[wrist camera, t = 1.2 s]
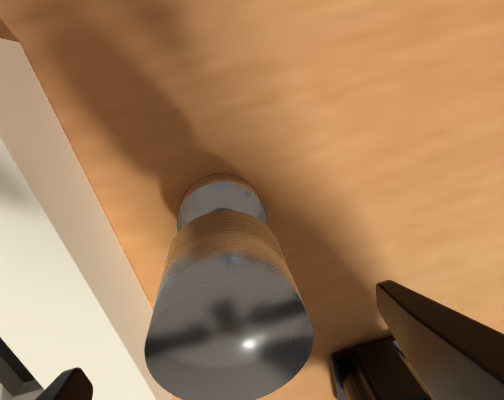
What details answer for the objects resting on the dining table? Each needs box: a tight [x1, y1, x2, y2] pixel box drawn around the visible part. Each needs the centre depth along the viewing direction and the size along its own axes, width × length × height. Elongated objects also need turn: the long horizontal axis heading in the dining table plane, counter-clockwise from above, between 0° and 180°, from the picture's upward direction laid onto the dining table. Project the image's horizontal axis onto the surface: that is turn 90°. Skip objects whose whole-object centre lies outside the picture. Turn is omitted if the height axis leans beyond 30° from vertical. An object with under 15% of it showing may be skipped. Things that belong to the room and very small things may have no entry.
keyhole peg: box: [144, 174, 314, 400], centre depth 12 cm, size 5×5×9 cm
